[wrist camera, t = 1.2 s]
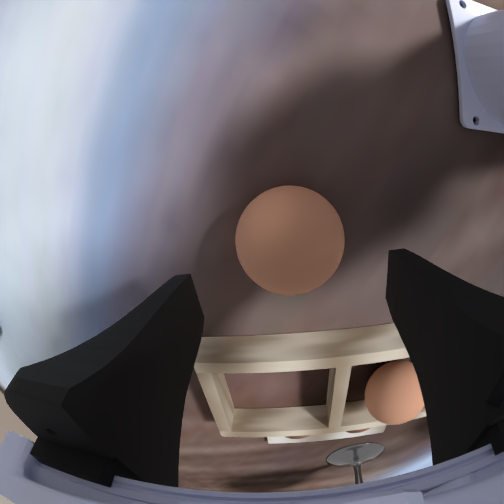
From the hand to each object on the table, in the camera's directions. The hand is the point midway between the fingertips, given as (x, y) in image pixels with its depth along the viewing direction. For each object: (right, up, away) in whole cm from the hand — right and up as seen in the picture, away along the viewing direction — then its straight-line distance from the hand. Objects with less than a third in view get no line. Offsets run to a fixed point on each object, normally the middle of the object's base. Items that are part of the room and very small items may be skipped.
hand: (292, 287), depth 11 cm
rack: (+5, -11, +12) cm, 17 cm away
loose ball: (0, +2, +3) cm, 4 cm away
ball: (+9, -9, +8) cm, 15 cm away
